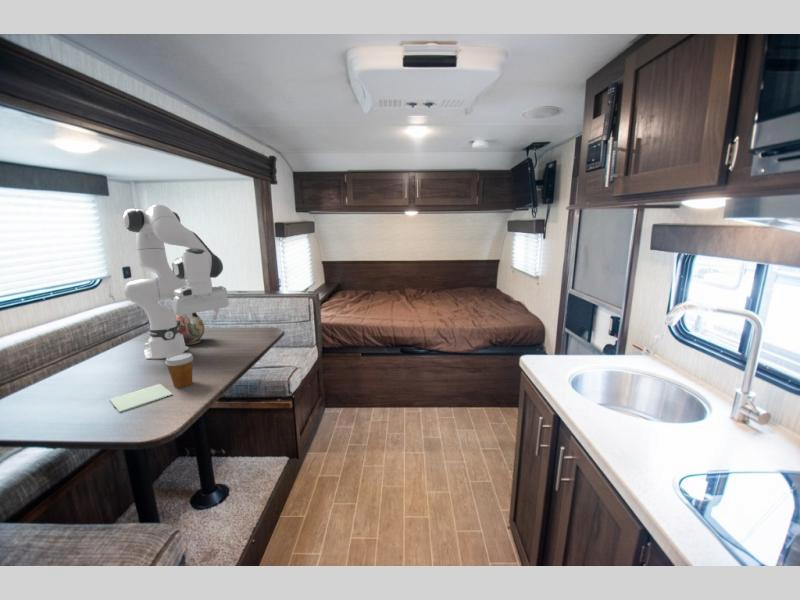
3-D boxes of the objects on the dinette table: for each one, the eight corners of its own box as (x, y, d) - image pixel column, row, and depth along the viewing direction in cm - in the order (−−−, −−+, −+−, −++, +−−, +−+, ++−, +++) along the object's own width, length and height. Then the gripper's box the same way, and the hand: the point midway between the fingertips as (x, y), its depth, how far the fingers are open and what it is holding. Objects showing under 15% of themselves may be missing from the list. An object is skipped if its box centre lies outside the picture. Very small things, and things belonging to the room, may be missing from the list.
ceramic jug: (166, 347, 180) (159, 292, 175) (186, 338, 195) (179, 288, 190) (197, 347, 179) (190, 292, 174) (214, 338, 194) (208, 288, 189)
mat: (109, 400, 123) (109, 399, 123) (160, 385, 136) (159, 383, 136) (119, 412, 115) (119, 411, 115) (172, 395, 127) (172, 393, 127)
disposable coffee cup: (172, 381, 139) (168, 354, 136) (199, 377, 142) (195, 351, 140) (166, 391, 130) (161, 362, 128) (194, 387, 133) (190, 359, 131)
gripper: (222, 284, 147) (226, 315, 149) (169, 291, 131) (174, 325, 134) (229, 286, 143) (233, 317, 146) (174, 293, 127) (180, 328, 130)
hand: (204, 321), depth 139 cm, fingers open, 7 cm apart
